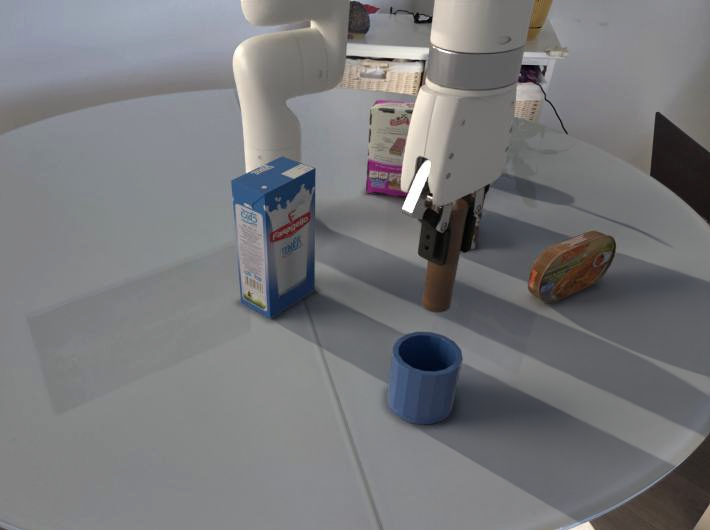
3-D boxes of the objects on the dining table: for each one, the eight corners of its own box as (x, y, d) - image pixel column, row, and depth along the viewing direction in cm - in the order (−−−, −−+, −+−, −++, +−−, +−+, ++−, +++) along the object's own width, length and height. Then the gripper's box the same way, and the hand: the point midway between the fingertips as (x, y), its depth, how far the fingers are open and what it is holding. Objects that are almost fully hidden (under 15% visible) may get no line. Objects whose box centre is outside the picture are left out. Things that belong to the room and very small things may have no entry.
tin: (534, 310, 91) (548, 261, 86) (518, 300, 94) (530, 250, 88) (608, 279, 96) (626, 230, 91) (590, 270, 98) (607, 221, 93)
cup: (374, 399, 80) (378, 350, 74) (416, 371, 83) (423, 323, 78) (422, 434, 75) (430, 385, 70) (465, 404, 78) (476, 354, 73)
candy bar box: (428, 189, 122) (439, 102, 112) (423, 200, 119) (434, 112, 108) (370, 182, 126) (376, 97, 115) (364, 193, 122) (369, 107, 112)
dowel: (416, 303, 69) (429, 203, 62) (434, 293, 71) (449, 193, 63) (438, 316, 67) (454, 214, 60) (456, 305, 69) (474, 203, 61)
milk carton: (285, 275, 102) (282, 156, 89) (314, 290, 98) (316, 167, 86) (240, 303, 97) (230, 180, 84) (269, 319, 93) (263, 194, 80)
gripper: (496, 37, 59) (465, 214, 71) (371, 78, 52) (360, 268, 64) (570, 52, 55) (524, 239, 66) (444, 99, 47) (417, 300, 59)
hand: (444, 252), depth 65 cm, fingers closed on dowel, 3 cm apart
